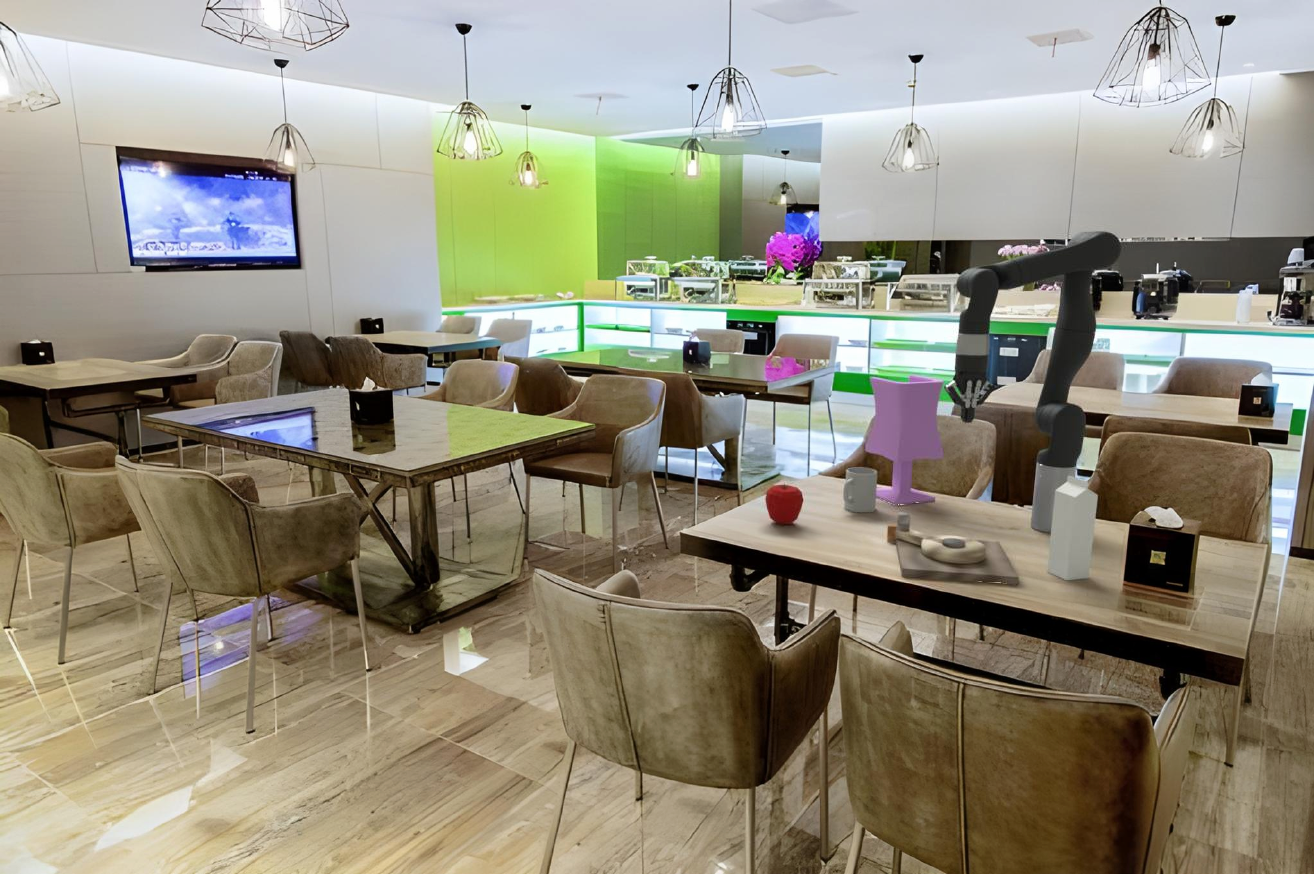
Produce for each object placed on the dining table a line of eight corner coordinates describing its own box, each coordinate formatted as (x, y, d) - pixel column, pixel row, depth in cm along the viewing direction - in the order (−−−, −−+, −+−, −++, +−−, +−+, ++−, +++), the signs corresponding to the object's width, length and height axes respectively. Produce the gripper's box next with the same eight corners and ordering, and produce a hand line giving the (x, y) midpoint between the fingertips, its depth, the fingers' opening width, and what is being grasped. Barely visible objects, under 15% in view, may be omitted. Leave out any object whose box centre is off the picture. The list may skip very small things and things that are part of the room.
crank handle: (997, 555, 194) (1000, 530, 192) (962, 568, 185) (964, 542, 184) (914, 530, 211) (916, 507, 210) (878, 541, 203) (880, 517, 202)
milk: (1066, 581, 184) (1076, 483, 179) (1046, 571, 190) (1055, 476, 185) (1089, 578, 186) (1100, 480, 181) (1068, 568, 191) (1078, 474, 187)
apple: (764, 528, 220) (765, 487, 217) (764, 517, 229) (765, 478, 227) (803, 529, 218) (804, 488, 216) (801, 518, 228) (803, 479, 225)
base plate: (996, 546, 206) (998, 530, 205) (1017, 585, 181) (1019, 567, 181) (886, 538, 211) (887, 523, 211) (892, 575, 187) (893, 558, 186)
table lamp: (906, 488, 258) (913, 374, 251) (940, 501, 244) (949, 381, 237) (862, 493, 253) (869, 376, 246) (894, 507, 239) (902, 384, 232)
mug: (855, 502, 243) (857, 465, 241) (881, 508, 237) (883, 470, 235) (830, 510, 235) (832, 472, 233) (857, 517, 229) (859, 478, 227)
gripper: (988, 350, 211) (982, 418, 214) (939, 351, 209) (934, 420, 212) (1005, 353, 204) (999, 424, 207) (955, 354, 201) (950, 425, 205)
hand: (966, 422), depth 210 cm, fingers closed
